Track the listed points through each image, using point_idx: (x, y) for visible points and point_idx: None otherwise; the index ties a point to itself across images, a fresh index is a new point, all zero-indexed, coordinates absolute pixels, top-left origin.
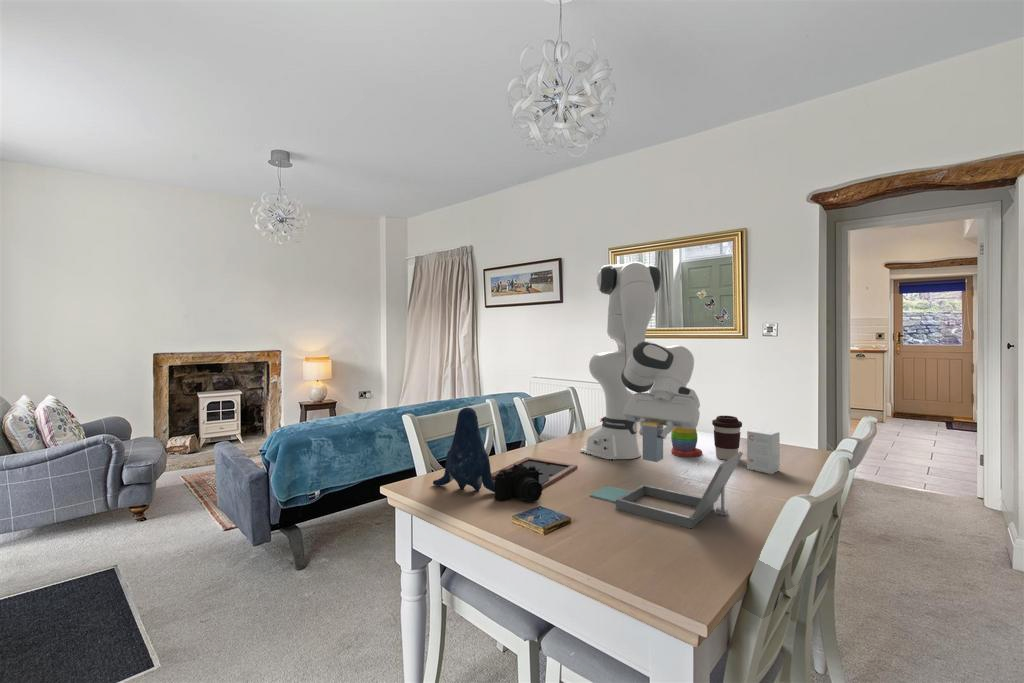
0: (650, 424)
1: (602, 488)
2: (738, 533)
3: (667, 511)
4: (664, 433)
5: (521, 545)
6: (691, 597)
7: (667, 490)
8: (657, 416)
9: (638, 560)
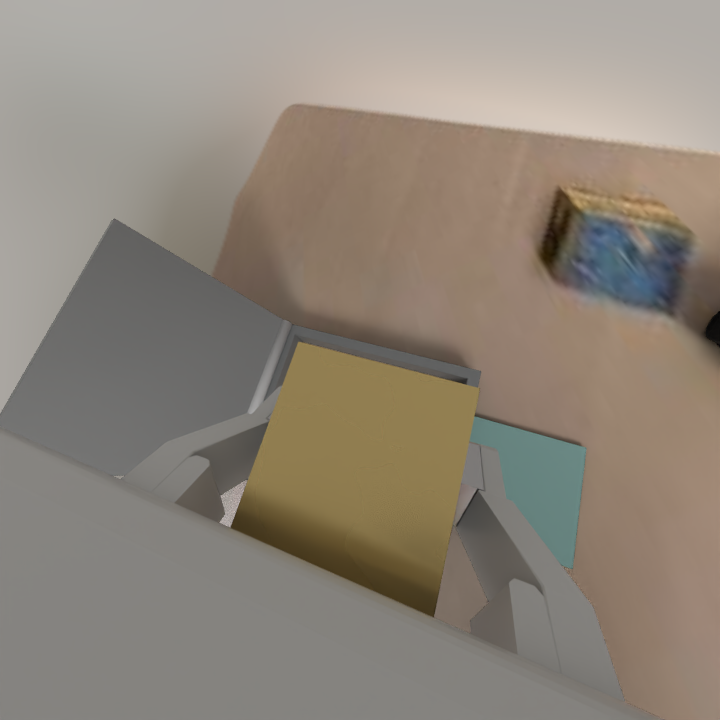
0: (374, 362)
1: (574, 529)
2: None
3: (340, 342)
4: (270, 397)
5: (573, 138)
6: (298, 136)
7: None
8: (272, 586)
9: (372, 182)
